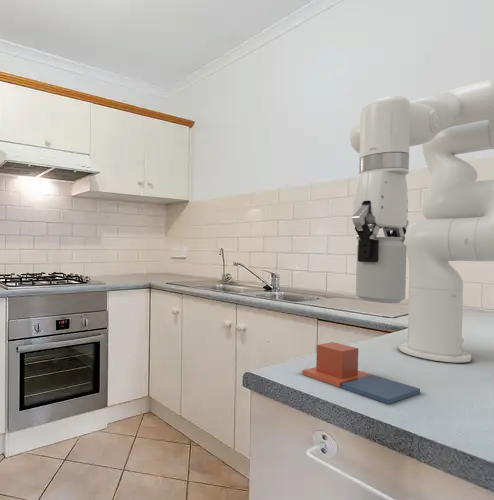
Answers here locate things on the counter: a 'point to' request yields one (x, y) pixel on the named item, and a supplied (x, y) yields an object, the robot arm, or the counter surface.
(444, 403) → the counter surface
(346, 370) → the terracotta block
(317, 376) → the sorting board
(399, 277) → the can
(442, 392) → the counter surface
